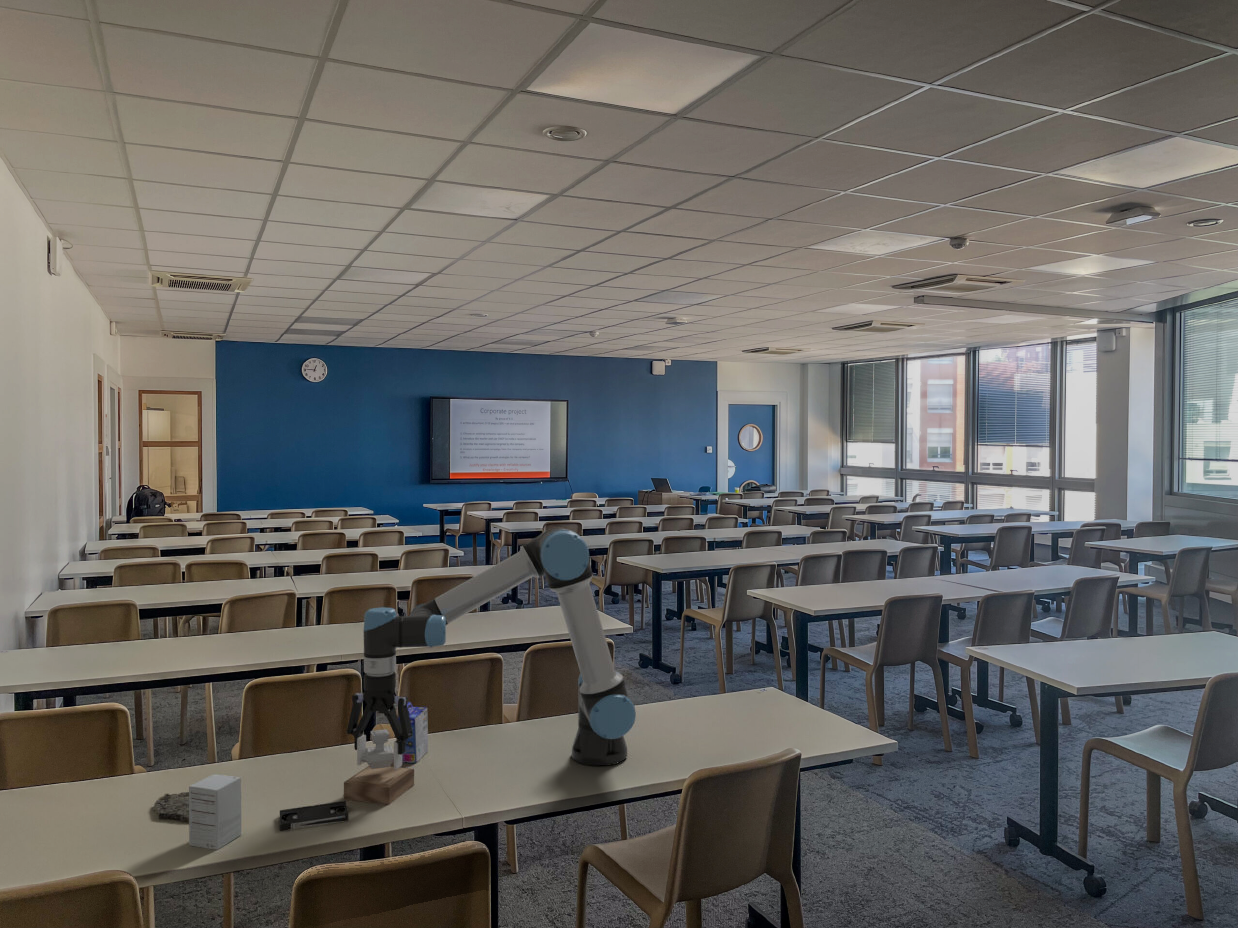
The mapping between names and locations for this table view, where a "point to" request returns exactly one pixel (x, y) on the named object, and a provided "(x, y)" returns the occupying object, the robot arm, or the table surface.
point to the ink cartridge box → (416, 735)
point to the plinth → (379, 784)
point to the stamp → (379, 751)
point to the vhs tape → (313, 815)
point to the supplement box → (214, 811)
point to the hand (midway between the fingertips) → (379, 764)
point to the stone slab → (173, 806)
